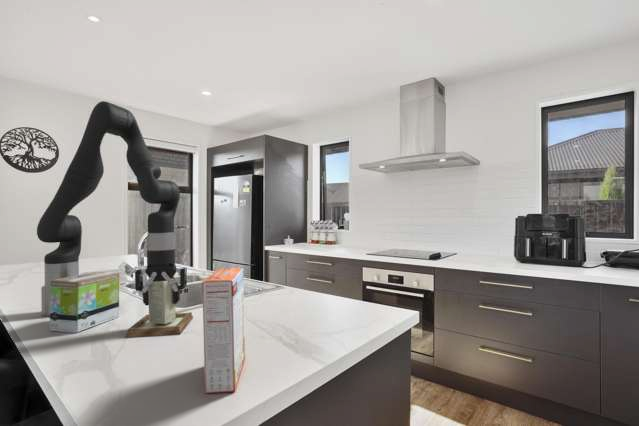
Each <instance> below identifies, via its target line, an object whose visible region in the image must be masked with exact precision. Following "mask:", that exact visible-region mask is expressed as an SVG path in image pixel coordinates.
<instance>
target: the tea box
mask: <svg viewBox="0 0 639 426" xmlns="http://www.w3.org/2000/svg"><path fill="white" fill-rule="evenodd" d="M119 317H120V272H102V271H95V272H94V271H93V272H89V273H83V274H79V275H77V276H71V277H66V278H61V279H55V280H51V293H50V316H49V331H52V332H60V333H61V332H62V333H73V334H78V333H80V332H82V331H84V330H87V329H89V328H92V327H95V326H98V325H101V324H103V323H107V322H110V321H113V320H115V318H116V319H118V318H119ZM112 319H113V320H112Z"/></svg>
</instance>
